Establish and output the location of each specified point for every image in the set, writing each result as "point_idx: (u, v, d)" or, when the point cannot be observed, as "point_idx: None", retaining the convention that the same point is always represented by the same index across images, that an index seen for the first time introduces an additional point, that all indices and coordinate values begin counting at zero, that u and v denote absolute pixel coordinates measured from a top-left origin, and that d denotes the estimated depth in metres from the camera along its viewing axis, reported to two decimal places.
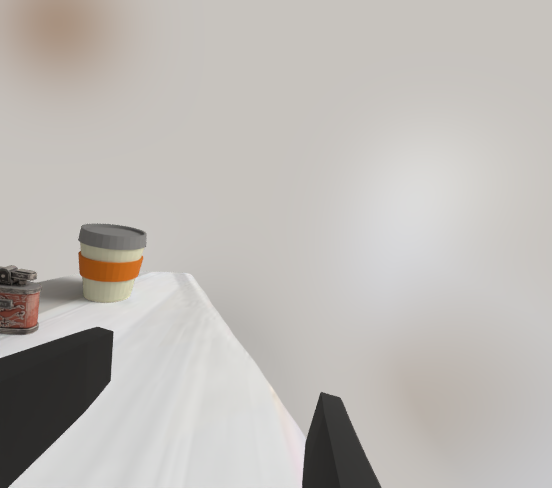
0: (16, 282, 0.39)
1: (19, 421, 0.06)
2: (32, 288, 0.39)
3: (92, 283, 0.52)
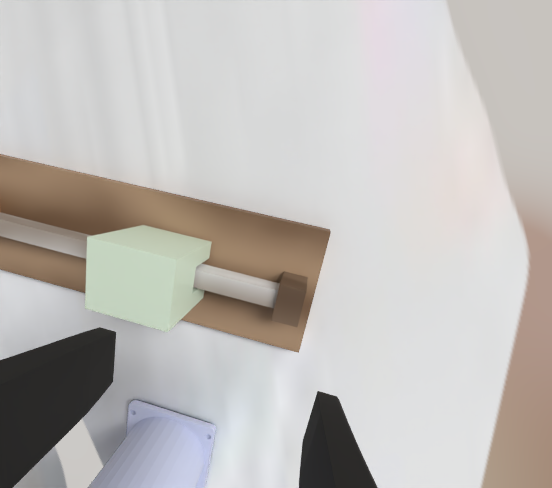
0: None
1: (22, 422, 0.06)
2: None
3: None
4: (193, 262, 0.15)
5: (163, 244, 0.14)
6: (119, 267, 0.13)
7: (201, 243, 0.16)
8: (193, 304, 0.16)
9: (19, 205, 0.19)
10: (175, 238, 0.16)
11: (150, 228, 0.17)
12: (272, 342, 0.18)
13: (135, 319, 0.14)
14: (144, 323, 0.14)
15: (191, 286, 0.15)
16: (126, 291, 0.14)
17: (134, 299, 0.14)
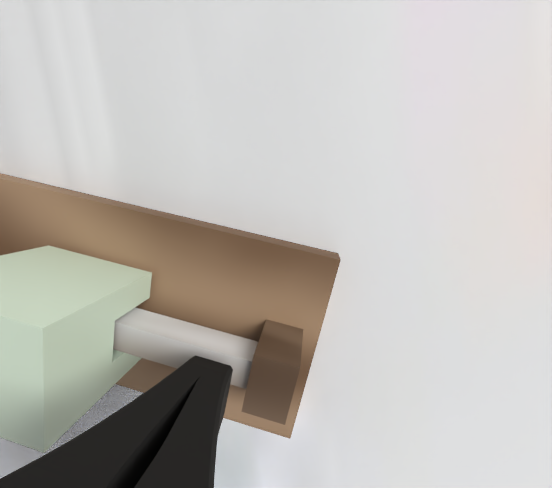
0: None
1: None
2: None
3: None
4: (105, 316, 0.09)
5: (48, 286, 0.08)
6: None
7: (131, 277, 0.10)
8: (119, 375, 0.10)
9: None
10: (87, 269, 0.10)
11: (55, 251, 0.11)
12: (250, 422, 0.12)
13: None
14: (4, 435, 0.08)
15: (107, 353, 0.09)
16: None
17: None
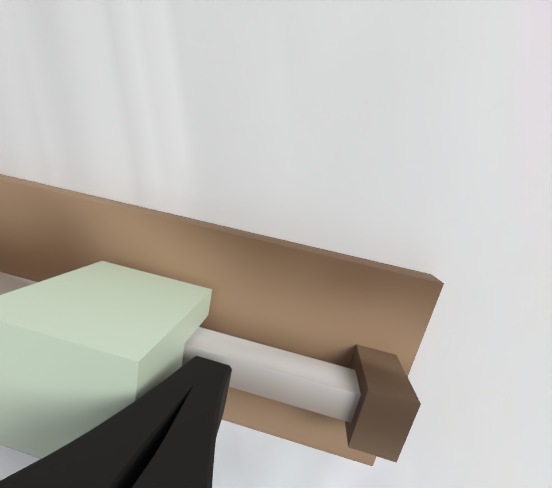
0: None
1: None
2: None
3: None
4: (179, 339, 0.08)
5: (123, 310, 0.08)
6: (27, 368, 0.07)
7: (195, 295, 0.10)
8: None
9: None
10: (150, 287, 0.09)
11: (111, 268, 0.10)
12: (330, 449, 0.12)
13: None
14: None
15: None
16: (45, 411, 0.07)
17: (61, 428, 0.07)
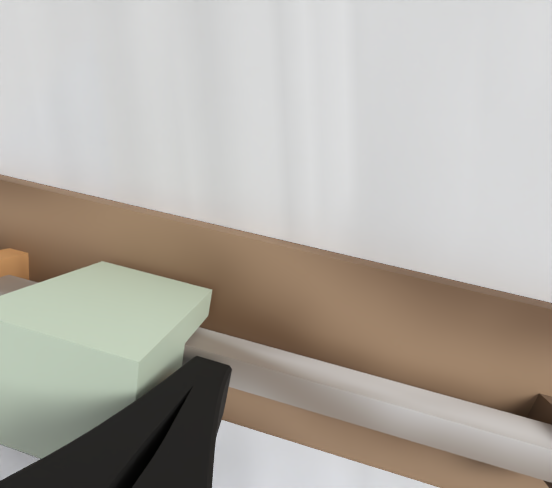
0: None
1: None
2: None
3: None
4: (179, 340, 0.08)
5: (123, 310, 0.08)
6: (27, 369, 0.07)
7: (195, 295, 0.10)
8: None
9: (62, 266, 0.12)
10: (150, 288, 0.09)
11: (111, 268, 0.10)
12: None
13: None
14: None
15: None
16: (45, 412, 0.07)
17: (61, 428, 0.07)
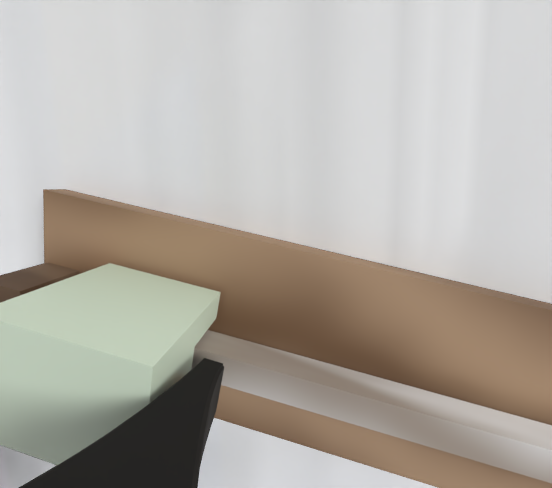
0: None
1: None
2: None
3: None
4: (190, 343, 0.08)
5: (133, 314, 0.08)
6: (39, 373, 0.07)
7: (204, 298, 0.10)
8: None
9: None
10: (159, 291, 0.09)
11: (119, 270, 0.10)
12: None
13: None
14: None
15: None
16: (56, 417, 0.07)
17: (72, 432, 0.07)
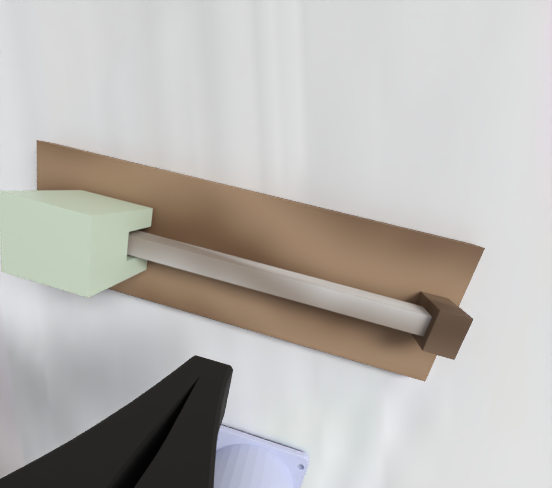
0: None
1: None
2: None
3: None
4: (123, 225, 0.14)
5: (89, 204, 0.13)
6: (33, 225, 0.12)
7: (139, 208, 0.15)
8: (130, 274, 0.15)
9: None
10: (110, 201, 0.15)
11: (87, 193, 0.16)
12: (394, 369, 0.16)
13: (54, 283, 0.13)
14: (64, 288, 0.13)
15: (123, 252, 0.14)
16: (42, 251, 0.12)
17: (51, 261, 0.12)
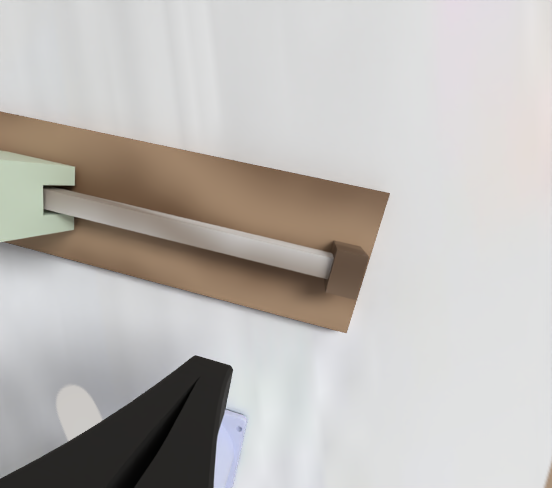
0: None
1: None
2: None
3: None
4: (34, 177, 0.14)
5: None
6: None
7: (57, 164, 0.15)
8: (50, 229, 0.16)
9: None
10: (28, 158, 0.15)
11: (10, 153, 0.16)
12: (316, 322, 0.16)
13: None
14: None
15: (38, 205, 0.15)
16: None
17: None
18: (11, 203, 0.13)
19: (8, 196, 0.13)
